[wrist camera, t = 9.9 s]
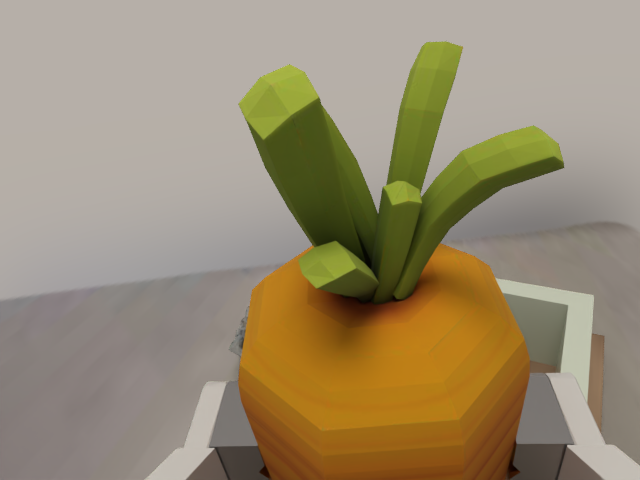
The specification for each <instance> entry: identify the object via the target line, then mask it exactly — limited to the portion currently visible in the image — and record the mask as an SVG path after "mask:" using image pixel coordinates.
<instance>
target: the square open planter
mask: <svg viewBox="0 0 640 480" xmlns="http://www.w3.org/2000/svg"><path fill="white" fill-rule="evenodd" d="M495 279H496V281H497V283H498V285H499V287H500V289H501V291H502V293H503V295H504V297H505V300H506V302H507V304H508V306H509V308H510V310H511V312H512V314H513V316H514V318H515V320H516V322H517V324H518V327H519V329H520V331H521V333H522V335H523V337H524V339H525V343H526V346H527V350H528V354H529V357H530V360H531V361H535V362H539V363H544V364H548V365H552V366H556V369H555V373H567V372H569V373H572V374H573V375H574V376H575V378H576V380H577V382H578V384H579V387H580V389H581V391H582V393H583V395H584V398H585V400H586V402H587V400H588V383H589V367H590V351H591V335H592V319H593V303H594V295H588V294H583V293H577V292H571V291H565V290H560V289H554V288H548V287H543V286H537V285H531V284H526V283H520V282H514V281H509V280H503V279H497V278H495Z"/></svg>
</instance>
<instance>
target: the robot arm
mask: <svg viewBox="0 0 640 480" xmlns="http://www.w3.org/2000/svg"><path fill="white" fill-rule="evenodd" d="M145 480H272V478H271V476H270V474H269V472H268V469H267V467H266V465H265V462H264V460H263V457H262V455H261V452H260V449H259V447H258V444H257V442H256V439H255V436H254V434H253V431H252V428H251V426H250V423H249V421H248V418H247V415H246V413H245V410H244V408H243V405H242V402H241V398H240V392H239V387H238V381H208V382H207V383H206V384H205V386H204V387H203V389H202V392H201V395H200V398H199V401H198V404H197V407H196V410H195V413H194V416H193V419H192V422H191V425H190V428H189V432H188V435H187V438H186V441H185V444H184V447H183V448H176V449H175V450H174V451H173V452H172V453H171V454H170V455H169V456H168V457H167V458H166V459H165V460H164V461H163V462H162V463H161V464H160V465H159V466H158V467H157V468H156V469H155V470H154V471H153V472H152V473H151V474H150V475H149V476H148V477H147V478H146V479H145ZM505 480H640V465H638V464H637V463H636V462H635V461H633V460H632V459H631V458H630V457H628V456H627V455H626V454H625V453H624V452H622V451H621V450H620V449H619V448H617V447H616V446H615V445H606V444H605V442H604V439H603V437H602V435H601V433H600V431H599V428H598V426H597V424H596V422H595V420H594V417H593V415H592V413H591V411H590V409H589V406H588V404H587V402H586V400H585V398H584V395H583V393H582V391H581V389H580V387H579V384H578V382H577V380H576V378H575V376H574V375H573V374H572V373H569V372H567V373H530V377H529V382H528V386H527V391H526V395H525V400H524V404H523V409H522V414H521V418H520V423H519V427H518V432H517V436H516V439H515V443H514V448H513V452H512V456H511V460H510V463H509V467H508V470H507V474H506V477H505Z"/></svg>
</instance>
